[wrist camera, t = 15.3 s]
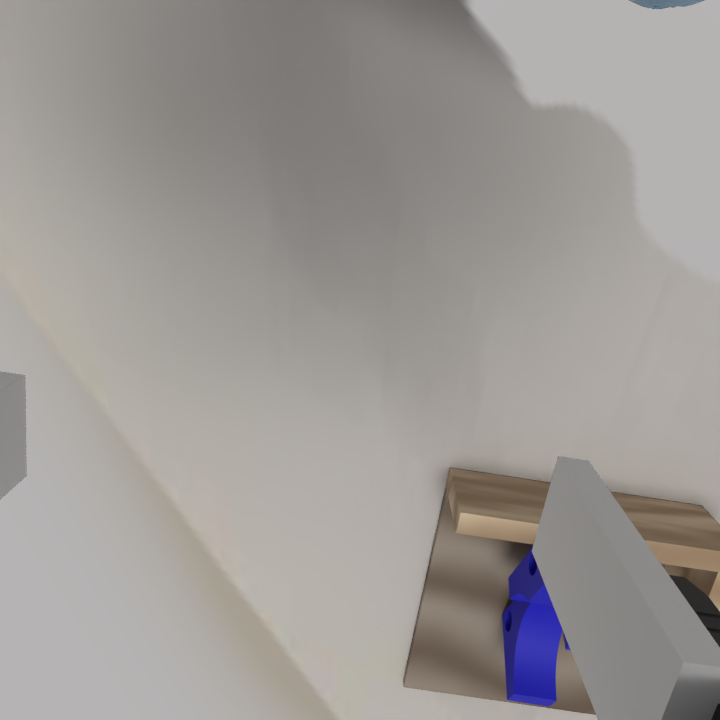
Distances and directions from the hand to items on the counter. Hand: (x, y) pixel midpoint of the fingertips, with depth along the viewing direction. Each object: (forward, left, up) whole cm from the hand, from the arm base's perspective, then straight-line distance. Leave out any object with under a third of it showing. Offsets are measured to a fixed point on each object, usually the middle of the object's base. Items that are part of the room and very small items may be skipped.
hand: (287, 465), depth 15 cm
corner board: (+23, +18, -27) cm, 40 cm away
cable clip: (+18, +17, -23) cm, 34 cm away
